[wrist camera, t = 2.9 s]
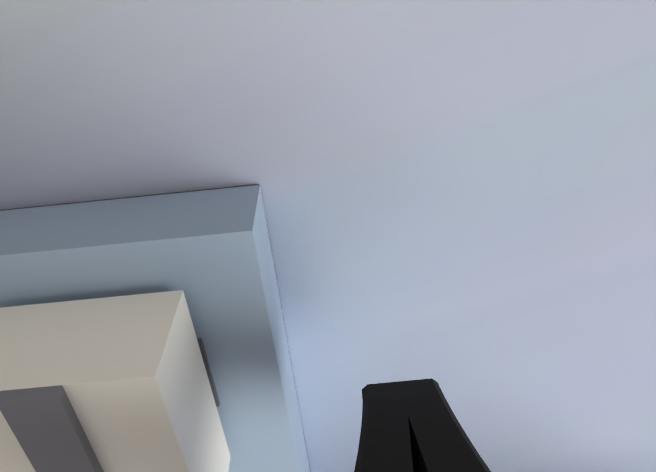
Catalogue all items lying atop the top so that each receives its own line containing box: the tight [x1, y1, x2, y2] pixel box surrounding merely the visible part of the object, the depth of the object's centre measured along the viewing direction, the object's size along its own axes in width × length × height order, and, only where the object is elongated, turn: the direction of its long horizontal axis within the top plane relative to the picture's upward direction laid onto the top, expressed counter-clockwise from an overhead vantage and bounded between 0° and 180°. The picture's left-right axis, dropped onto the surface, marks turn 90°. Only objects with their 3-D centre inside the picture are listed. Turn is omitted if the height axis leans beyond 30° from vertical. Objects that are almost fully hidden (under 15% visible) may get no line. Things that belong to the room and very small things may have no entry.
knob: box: [0, 290, 230, 472], centre depth 11 cm, size 4×5×2 cm
